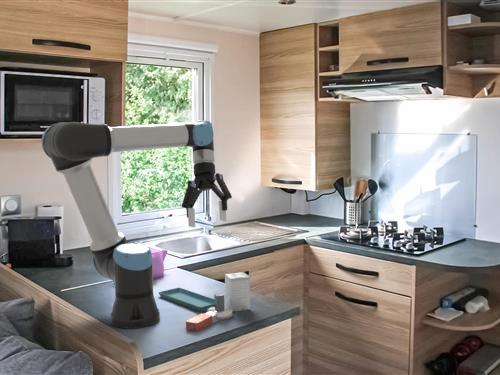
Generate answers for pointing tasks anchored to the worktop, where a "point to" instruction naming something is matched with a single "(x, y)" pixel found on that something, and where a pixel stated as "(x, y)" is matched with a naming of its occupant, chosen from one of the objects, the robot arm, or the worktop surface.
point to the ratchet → (210, 315)
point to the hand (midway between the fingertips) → (207, 223)
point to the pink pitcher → (158, 262)
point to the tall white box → (237, 291)
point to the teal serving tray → (188, 299)
